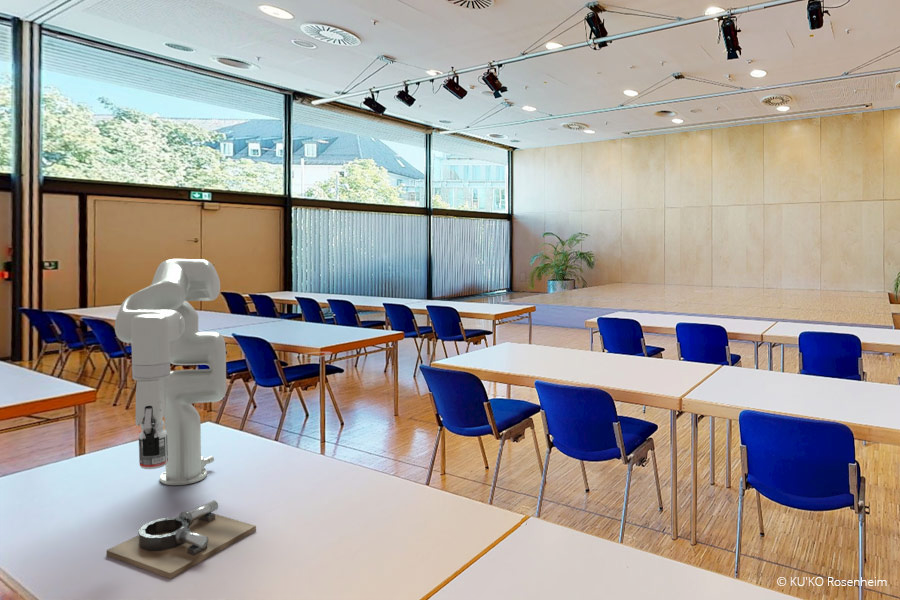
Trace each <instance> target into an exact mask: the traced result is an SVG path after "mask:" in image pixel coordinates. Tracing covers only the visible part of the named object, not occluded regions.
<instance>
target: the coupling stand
mask: <svg viewBox="0 0 900 600" xmlns="http://www.w3.org/2000/svg"><path fill="white" fill-rule="evenodd" d="M218 509H219V503H218V501H216V500H212V501H210V502H209V501H208V502H206V503H205V504H203V505H201V506H198V507H197V508H196V507H195V508H194V509H191V510H190V511H188V510H184V511H182V512H180V513H179V516H177V517H175V516H173V517H171V516H169V517H167V516H166V517H163V518H157V519H153V520H152V521H149V522H146V523H144V524H143V525H141V527H139V529H138V531H137V533H138V535H137V536H134V537H132V538H130V539H127V540H126V541H123V542H122V543H119V544H117V545H115V546H112V547H110V548H108V549H106V556H107V557H110V558H113V559H114V560H118V561H121V562H124V563H126V564H129V565H131V566H134V567H137V568H140V569H142V570H145V571H148V572H150V573H153V574H156V575H159V576H162V577H165V578H167V579H170V580H171V579H173V578H174V577H177V576H179V575H180V574H182V573H183V572H185V571H187V570H189V569H191V568H193V567H194V566H196V565H197V564H199V563H201V562H203V561H204V560H206V559H208V558H210V557H212V556H214V555H215V554H218V553H219V552H221V551H222V550H224V549H226V548H227V547H229V546H232V545H233V544H235V543H237V542H238V541H240V540H243V539H244V538H245V537H247V536H249V535H251V534H252V532H253V533H254V532H256V531H257V525H254V524H251V523H247V522H244V521H241V520H237V519H234V518H231V517H227V516H223V515H220V514H216V513H213V512H215V511H217V510H218Z"/></svg>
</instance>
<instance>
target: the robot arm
mask: <svg viewBox="0 0 900 600" xmlns="http://www.w3.org/2000/svg"><path fill="white" fill-rule="evenodd" d="M219 277H220V276H219V274H218V272H217V269H216V268H215V266H214V265H213V264H212V263H211V261H208V260H207V259H202V258H200V259H199V258H198V259H197V258H196V259H194V258H192V259H191V258H190V259H189V258H188V259H187V258H171V259H167V260H163V261H162V262H161V263H159V265H158V266H157V269H156V270H155V272H154V275H153V279H152V282H151V284H150V285H149V286H147V287H144V288H141V289H140V290H138V291H136V292H134V293H132V294H131V295H129V296H127V297H126V298H125V299H124V300H123V302H122V303H121V305H120V307H119V309H118V312H117V315H116V317H115V321H114V332H115V335H116V337H117V339H118V340H119V341H121V342H123V343H127V344H131V368H132V369H131V371H132V373H131V374H132V375H131V377H132V379H133V380H134V381H136V387H135V418H134V419H135V422H134V423H135V424H134V425H136V426H137V427H139V426H141V423H142V422H143V438H142V440H143V456H156V455H159V453H160V452H159V437H157V436H158V424H159V423H160V422H161V421H162V420H164V430H166V432H167V447H168V463H167V464H166V465H165V471H164V472H162V473H161V474H160V475H159V482H161V483H162V484H163V485H166V486H167V485H168V486H183V485H191V484H194V483H197V482H199V481H202V480H203V479H206V477H207V475H208V470H207V469H206V468H205V467H206V466H207V465H208V464H211V463H213V462H214V461H215V458H214V456H213V455H210V456H207V457H204V456H202V437H201V436H202V435H201V429H202V428H201V416H200V413H199V412H198V409H196V408H195V406H194V405H192V404H198V403H199V404H200V403H216V402H220V401H222V400H223V399H224V398H225V396H226V393H227V392H226V391H227V348H226V342H225V337H224V336H223V335H222V333H220V332H217V331H199V313H198V312H197V311H196V309H195V308H194V307H193V306H192V304H190V302H210V301H215V300H216V299H218V297H219V295H220V292H221V280H220V278H219ZM171 364H172V365H175V366H195V365H196V366H198V365H201V366H202V365H205V366H208V367H209V368H205V369H204V368H203V369H177V370H171ZM152 421H155V423H152ZM152 426H154V429H153V428H152Z"/></svg>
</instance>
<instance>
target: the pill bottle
mask: <svg viewBox="0 0 900 600" xmlns="http://www.w3.org/2000/svg"><path fill="white" fill-rule="evenodd" d="M152 423H155V421H152ZM152 428H153V429H154V426H152ZM140 429H141V432H140V433H139V434H138V453H139V455H138V456H139V457H138V459H139V460H138V461H139V467H140V468H141V469H144V470H156V469H160V468H163V467H166V464H167V463H168V447H167V432H166V430H165V421H164V419H162V421H161V422H160V423H159V424H158V436H157V437H159V452H160V453H159V455H156V456H143V440H142V438H143V422H142V423H141V424H140Z"/></svg>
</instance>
